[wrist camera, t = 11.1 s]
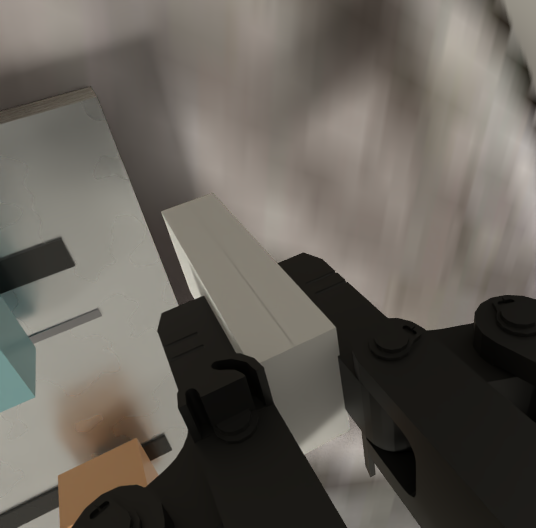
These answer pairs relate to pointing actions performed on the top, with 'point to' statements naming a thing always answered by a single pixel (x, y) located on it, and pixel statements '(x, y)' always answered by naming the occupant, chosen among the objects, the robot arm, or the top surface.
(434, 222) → the top surface
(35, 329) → the console
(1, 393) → the fader
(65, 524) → the fader
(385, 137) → the top surface
